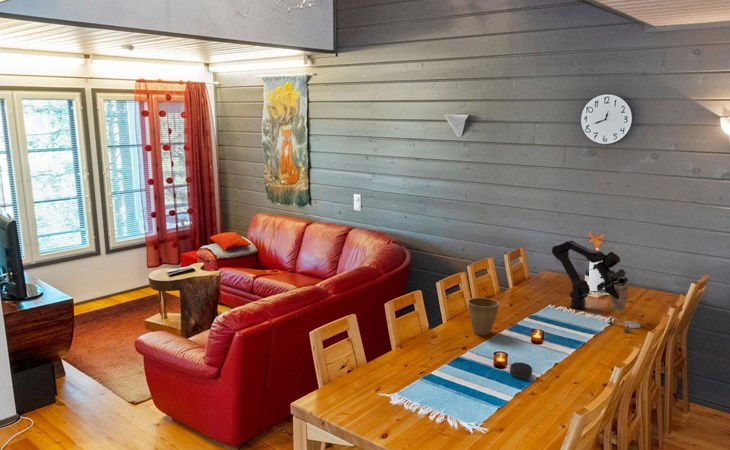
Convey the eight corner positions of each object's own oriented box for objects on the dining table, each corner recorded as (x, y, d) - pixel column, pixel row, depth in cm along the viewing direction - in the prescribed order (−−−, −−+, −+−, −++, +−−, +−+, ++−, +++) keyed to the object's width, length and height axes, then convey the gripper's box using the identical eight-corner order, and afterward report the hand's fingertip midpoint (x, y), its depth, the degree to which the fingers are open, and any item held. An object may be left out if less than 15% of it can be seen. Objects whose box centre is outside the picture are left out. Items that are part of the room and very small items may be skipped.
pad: (620, 325, 306) (620, 323, 306) (626, 321, 312) (626, 320, 311) (636, 329, 300) (636, 327, 300) (642, 325, 306) (642, 324, 306)
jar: (600, 290, 367) (602, 271, 365) (593, 292, 362) (595, 273, 360) (587, 286, 374) (589, 268, 372) (580, 289, 369) (582, 270, 367)
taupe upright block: (610, 308, 311) (613, 284, 308) (616, 307, 313) (619, 283, 311) (618, 311, 307) (621, 287, 304) (624, 310, 309) (628, 286, 307)
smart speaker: (515, 368, 253) (515, 359, 252) (535, 374, 247) (535, 365, 246) (506, 375, 246) (506, 366, 245) (526, 381, 240) (526, 372, 240)
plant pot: (497, 339, 285) (499, 307, 282) (466, 337, 287) (467, 305, 284) (497, 328, 299) (498, 298, 296) (467, 326, 302) (468, 296, 299)
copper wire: (606, 323, 308) (607, 315, 307) (611, 323, 309) (612, 314, 308) (625, 333, 295) (626, 324, 294) (631, 332, 296) (631, 324, 295)
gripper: (604, 266, 304) (620, 293, 297) (627, 262, 313) (643, 288, 306) (590, 277, 312) (605, 303, 305) (613, 273, 322) (628, 298, 315)
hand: (621, 298), depth 308 cm, fingers closed on taupe upright block, 5 cm apart
